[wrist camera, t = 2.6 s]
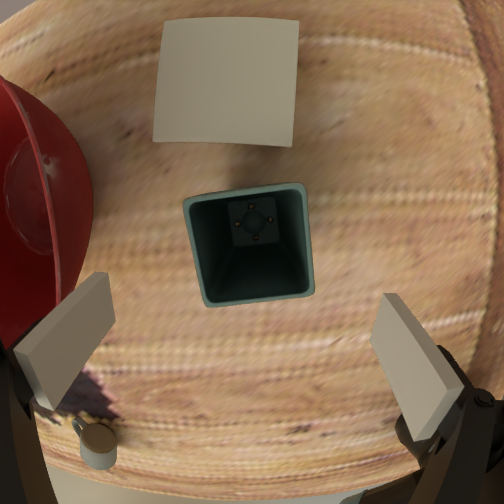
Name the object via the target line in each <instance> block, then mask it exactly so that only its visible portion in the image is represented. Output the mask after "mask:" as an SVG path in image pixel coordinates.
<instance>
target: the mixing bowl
mask: <svg viewBox="0 0 504 504" xmlns="http://www.w3.org/2000/svg"><path fill="white" fill-rule="evenodd" d="M92 221H93V192H92V185H91V178H90V174H89V171H88V168H87V164H86V160H85V158H84V155H83V153H82V151H81V149H80V147H79V145H78V143H77V142H76V140H75V138H74V137H73V136H72V134H71V133H70V132H69V130H68V129H67V128H66V126H65V125H64V124H63V122H62V121H61V120H60V119H59V118H58V117H57V116H56V115H55V114H54V113H53V112H52V111H51V110H50V109H49V108H48V107H46V106H45V105H44V104H43V103H42V102H41V101H39V100H38V99H37V98H35V97H34V96H33V95H31V94H30V93H28V92H27V91H25V90H24V89H22V88H20V87H19V86H17V85H15V84H13V83H11V82H9V81H7V80H5V79H4V78H3V77H2V76H1V75H0V337H1V340H2V342H3V345H4V347H5V349H6V350H7V349H8V348H9V347H10V346H11V345H12V344H13V343H14V341H15V340H16V339H17V338H18V337H19V336H20V335H21V334H23V332H24V331H26V330H27V329H29V327H30V326H31V325H32V324H33V323H34V322H35V321H36V320H38V319H40V318H41V317H43V316H47V315H48V314H49V313H50V312H51V311H52V310H53V309H54V308H55V307H56V306H57V305H59V304H60V303H61V302H62V301H63V300H64V299H65V298H66V297H67V296H68V295H69V294H70V293H72V292H73V291H74V288H75V286H76V283H77V280H78V277H79V274H80V271H81V268H82V265H83V262H84V259H85V256H86V252H87V248H88V243H89V239H90V233H91V226H92Z"/></svg>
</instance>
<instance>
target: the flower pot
mask: <svg viewBox="0 0 504 504" xmlns="http://www.w3.org/2000/svg"><path fill="white" fill-rule="evenodd" d="M250 204H253V205H254V208H253V209H250V208H249V205H250ZM183 212H184V217H185V221H186V226H187V230H188V235H189V240H190V244H191V249H192V253H193V258H194V263H195V268H196V272H197V277H198V281H199V286H200V290H201V295H202V300H203V302H204V304H205V306H206V307H208V308H214V307H216V308H217V307H225V306H233V305H241V304H249V303H258V302H266V301H275V300H284V299H292V298H303V297H308V296H310V295H313V294H314V292H315V281H314V270H313V258H312V247H311V235H310V225H309V213H308V199H307V191H306V187H305V185H304V184H302V183H298V182H284V183H277V184H269V185H262V186H254V187H247V188H239V189H232V190H225V191H218V192H211V193H205V194H201V195H197V196H193V197H189V198H186V199H185V200H184V201H183ZM269 217H271V218H272V222H268V221H267V219H268V218H269ZM237 221H238V222H240V226H238V227H237V226H236V225H235V223H236V222H237ZM254 235H258V237H259V238H258V239H257V240H255V239H254V238H253V237H254Z"/></svg>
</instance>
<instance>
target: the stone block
mask: <svg viewBox="0 0 504 504" xmlns="http://www.w3.org/2000/svg"><path fill="white" fill-rule="evenodd" d="M298 38H299V21H296V20H287V19H275V18H259V17H203V18H187V19H176V20H166V21H164V26H163V33H162V40H161V47H160V55H159V64H158V73H157V83H156V94H155V107H154V123H153V142H165V143H224V144H245V145H261V146H274V147H292V138H293V124H294V110H295V94H296V77H297V59H298Z"/></svg>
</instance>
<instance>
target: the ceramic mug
mask: <svg viewBox="0 0 504 504" xmlns="http://www.w3.org/2000/svg"><path fill="white" fill-rule="evenodd" d="M79 425H80V426H81V427H82V428H83V430H81V428H80V426H79ZM72 426H73V428H74V430H75V432H76V433H77V435H78V436H79V438H80V453H81V457H82V459H83V460H84V462H85V463H86V464H87V465H88V466H90V467H92V468H94V469H97V470H107V469H109V468H111V467H112V466H113V465H114V464H115V462H116V459H117V440H116V437H115V435H114V433H113V432H112V431H111V430H110V429H109V428H108V427H106V426H104V425H101V424H96V423H93V424H89V425H88V424H87V423H86V422H85V421H84V420H83V419H82V418H80V417H76V418H74V419H73V420H72Z"/></svg>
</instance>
